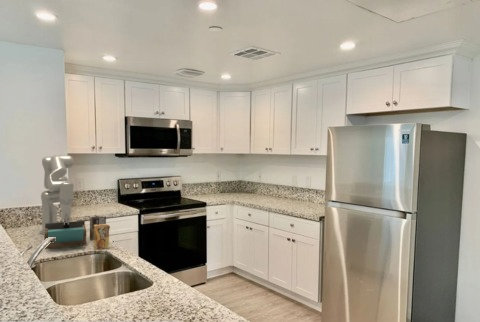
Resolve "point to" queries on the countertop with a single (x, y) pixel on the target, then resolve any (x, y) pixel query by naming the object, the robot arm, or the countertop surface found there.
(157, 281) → the countertop surface
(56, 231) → the panel
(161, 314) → the countertop surface
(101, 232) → the candy box
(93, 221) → the coffee box
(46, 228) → the hinged box
